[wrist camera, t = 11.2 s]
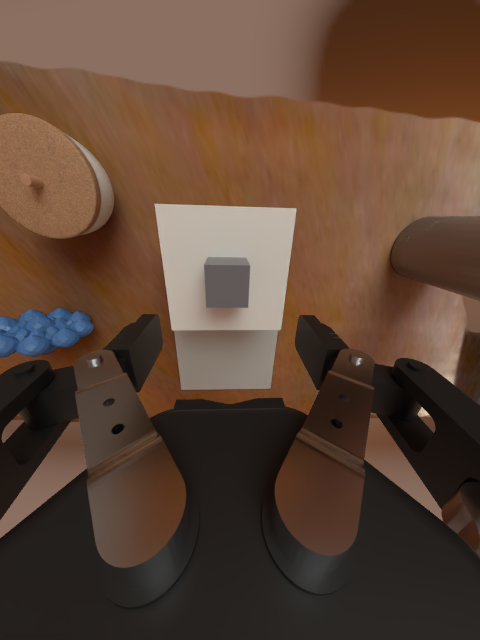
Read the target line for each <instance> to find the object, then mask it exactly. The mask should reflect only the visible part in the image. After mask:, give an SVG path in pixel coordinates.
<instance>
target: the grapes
mask: <svg viewBox="0 0 480 640" xmlns="http://www.w3.org/2000/svg"><path fill="white" fill-rule="evenodd" d="M90 321H91V319H90V317H89V316H88V315H87V314H85V313H82V312H79V311H77V312H75V313H73V314H72V313H71V312H70V311H68V310H66V309H62V308H57V309H55V310H53V311H52V312H51V313H49V314H48V316H46V315H45V314H44V313H42V312H40V311H36V310H32V309H30V310H28V311H26V312H24V313H23V314H22V315H20V316H19V318H18V319H17V320H16V319H13V318H9V317H3V316H1V317H0V357H8V356H9V355H11V354H13V353H15V352H16V351H17V353H19V354H21V355H23V356H30V357H37V356H39V355H41V354H50V353H51V352H53V351H55V350H56V349H57V348H58V347H61V348H69V347H71V346H73V345H74V344H76V343H77V342H78V341H79V339H80V337H82V338H83V337H85V336H87V335H89V334H90V333H91V332H92V331H93V329H94V326H93V324H92V323H91V322H90Z"/></svg>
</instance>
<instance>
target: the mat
mask: <svg viewBox="0 0 480 640" xmlns="http://www.w3.org/2000/svg"><path fill="white" fill-rule="evenodd" d="M277 333H278V330H174V334H175V342H176V350H177V358H178V366H179V374H180V383H181V390H213V389H270V388H271V380H272V372H273V364H274V356H275V349H276V341H277Z"/></svg>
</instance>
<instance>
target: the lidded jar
mask: <svg viewBox="0 0 480 640" xmlns="http://www.w3.org/2000/svg"><path fill="white" fill-rule="evenodd" d="M0 206H1V207H2V208H3V210H4V211H5V212H6V213H7V214H8V215H9V216H11V217H12V218H13V219H14V220H15V221H16V222H18V223H19V224H20V225H22V226H23V227H25V228H27V229H28V230H30V231H32V232H34V233H36V234H39V235H42V236H45V237H48V238H54V239H67V238H74V237H77V236H81V235H86V234H88V233H91V232H94V231H96V230H98V229H99V228H101V227H102V226H103V225H104V224H105V223H106V222H107V221H108V220H109V218H110V216H111V214H112V211H113V207H114V193H113V188H112V185H111V182H110V180H109V178H108V176H107V174H106V172H105V170H104V169H103V167H102V165H101V164H100V163H99V162H98V160H97V159H96V158H95V157H94V156H93V155H92V154H91V153H90V152H89V151H88V150H87V149H86V148H85V147H84V146H82V145H81V144H80V143H78V142H77V141H76V140H74V139H73V138H72V137H70V136H68V135H67V134H65V133H63V132H62V131H61V130H59V129H58V128H56V127H54V126H53V125H51V124H49V123H47V122H46V121H44V120H41V119H39V118H37V117H34V116H31V115H27V114H23V113H9V114H3V115H1V116H0Z"/></svg>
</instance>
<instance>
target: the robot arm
mask: <svg viewBox="0 0 480 640" xmlns="http://www.w3.org/2000/svg"><path fill="white" fill-rule="evenodd" d="M391 263H392V266H393V268H394V270H395V271H396V272H397V273H398V274H400V275H402V276H405V277H408V278H411V279H414V280H417V281H420V282H423V283H426V284H429V285H432V286H435V287H438V288H441V289H444V290H447V291H450V292H453V293H456V294H460V295H463V296H466V297H469V298H472V299H475V300H478V301H480V216H446V217H425V218H422V219H419V220H417V221H415V222H413V223H412V224H410V225H409V226H408V227H407V228H405V229H404V230H403V232H402V233H401V234H400V235H399V237H398V238H397V240H396V241H395V244H394V246H393V249H392V253H391ZM162 345H163V338H162V332H161V326H160V320H159V316H158V315H157V314H143V315H142V316H141V317H140V318H139V319H138V320H137V321H136V322H135V323H131V324H130V325H128V326H126V327H124V328H123V329H122V330H121V332H120V333H119V334H118V335H117V336H116V338H114V339H113V340H112V341H111V342H110V343H109V344H108V345H107V346H106V347H105V348H104V349H103V350H96V351H92V352H89V353H87V354H84V355H82V356H81V357H79V358H78V359H77V360H76V361H75V362H74V364H73V366H71V367H65V368H60V369H55V370H52V368H51V366H50V364H49V362H48V361H45V360H35V361H29V362H26V363H22V364H19V365H17V366H15V367H12V368H10V369H9V370H7V371H5V372H4V373H3V374H1V375H0V520H1V518H2V517H3V516H4V514H5V513H6V511H7V510H8V508H9V507H10V505H11V504H12V503H13V501H14V500H15V499H16V497H17V496H18V494H19V493H20V492H21V490H22V489H23V487H24V486H25V484H26V483H27V482H28V480H29V479H30V478H31V476H32V475H33V473H34V472H35V471H36V469H37V468H38V466H39V465H40V464H41V462H42V461H43V459H44V458H45V457H46V455H47V454H48V452H49V451H50V450H51V448H52V447H53V445H54V444H55V443H56V441H57V439H58V438H59V437H60V436H61V434H62V433H63V431H64V430H65V428H66V427H67V426H68V424H69V423H70V421H71V420H72V419H76V418H79V422H80V428H81V434H82V440H83V446H84V452H85V458H86V464H87V469H86V470H84V471H83V472H82V473H81V474H79V475H78V476H77V477H76V478H75V479H73V480H72V481H71V482H70V483H68V484H67V485H66V486H65V487H64V488H62V489H61V490H60V491H58V492H57V493H56V494H55V495H54V496H52V497H51V498H50V499H48V500H47V501H46V502H45V503H44V504H42V505H41V506H40V507H39V508H37V509H36V510H35V511H34V512H32V513H31V514H30V515H29V516H27V517H26V518H25V519H24V520H22V521H21V522H20V523H19V524H17V525H16V526H15V527H14V528H13V529H11V530H10V531H9V532H8V533H6V534H5V535H4V536H3V537H1V538H0V640H480V405H478V404H477V403H476V402H475V401H473V400H472V399H471V398H470V397H468V396H467V395H466V394H464V393H463V392H462V391H461V390H459V389H458V388H457V387H456V386H454V385H453V384H452V383H451V382H449V381H448V380H447V379H445V378H444V377H443V376H442V375H440V374H439V373H438V372H437V371H435V370H434V369H433V368H431V367H430V366H428V365H426V364H424V363H422V362H419V361H417V360H413V359H408V358H399V359H397V360H396V362H395V364H394V366H393V367H390V366H384V365H379V364H375V361H374V359H373V358H372V357H371V356H370V355H368V354H366V353H364V352H362V351H359V350H356V349H350V348H349V347H348V346H347V345H346V344H345V343H344V342H343V341H342V340H341V339H340V338H339V336H338V335H337V334H335V332H334V331H333V330H332V329H331V328H330V327H328V326H327V325H325V324H323V323H320V321H319V320H318V319H317V318H316V317H315V316H314V315H300V317H299V319H298V325H297V331H296V337H295V346H296V350H297V352H298V354H299V356H300V358H301V359H302V361H303V363H304V365H305V367H306V369H307V371H308V373H309V375H310V377H311V379H312V381H313V383H314V385H315V387H316V389H317V390H319V392H318V395H317V397H316V399H315V401H314V403H313V405H312V407H311V409H310V412H309V414H308V415H306V414H304V413H302V412H300V411H298V410H296V409H293V408H289V407H285V405H284V402H283V399H282V398H257V399H252V400H248V401H244V402H240V403H235V404H224V403H219V402H214V401H209V400H204V399H196V400H176V403H175V406H174V409H170V410H167V411H164V412H162V413H159V414H157V415H155V416H153V417H152V418H149V416H148V414H147V412H146V410H145V408H144V406H143V404H142V402H141V401H140V399H139V397H138V395H137V393H136V392H140V390H141V388H142V386H143V384H144V382H145V380H146V378H147V376H148V374H149V373H150V371H151V369H152V367H153V365H154V363H155V361H156V359H157V357H158V355H159V353H160V351H161V349H162ZM421 407H423V408H424V409H425V410H426V411H427V412H428V414H429V415H430V416H431V417H432V418H433V420H434V422H435V426H436V429H435V432H434V433H433V432H432V431H431V430H430V429H429V427H428V426H427V425H426V424H425V423H424V422H423V421H422V420H421V418H420V417H419V416H418V415H417V414H418V412H419V410H420V409H421ZM371 412H372V413H376V414H377V416H378V417H379V419H380V420H381V422H382V423H383V425H384V426H385V427H386V429H387V430H388V432H389V433H390V435H391V436H392V438H393V439H394V441H395V442H396V444H397V445H398V447H399V448H400V449H401V451H402V452H403V454H404V455H405V457H406V458H407V460H408V461H409V463H410V464H411V465H412V467H413V469H414V470H415V471H416V473H417V474H418V476H419V477H420V478H421V480H422V482H423V483H424V484H425V486H426V488H427V489H428V490H429V492H430V493H431V495H432V496H433V498H434V499H435V501H436V502H437V504H438V505H439V507H440V508H441V510H442V518H443V521H441V520H440V519H439V518H438V517H436V516H435V515H434V514H433V513H431V512H430V511H429V510H427V509H426V508H425V507H424V506H422V505H421V504H420V503H419V502H417V501H416V500H415V499H413V498H412V497H411V496H410V495H409V494H407V493H406V492H405V491H404V490H402V489H401V488H400V487H398V486H397V485H396V484H395V483H393V482H392V481H390V480H389V479H388V478H387V477H386V476H385V475H383V474H382V473H381V472H379V471H378V470H377V469H376V468H374V467H373V466H372V465H371V464H369V463H368V462H367V461H366V460H364V457H365V450H366V443H367V436H368V429H369V422H370V415H371ZM18 413H19V414H20V415H21V417H22V419H23V420H24V422H23V423H22V424H21V425H20V427H19V428H18V429H17V430H16V431H15V432H14V433H13V434H12V435H11V436H10V437H9V438H8V439H7V440H6V442H4V444H3V442H2V440H1V437H2V432H3V430H4V428H5V427H6V425H7V424H8V423H9V422H10V421H11V420H12V419H13V418H14V417H15V416H16V415H17V414H18Z"/></svg>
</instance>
